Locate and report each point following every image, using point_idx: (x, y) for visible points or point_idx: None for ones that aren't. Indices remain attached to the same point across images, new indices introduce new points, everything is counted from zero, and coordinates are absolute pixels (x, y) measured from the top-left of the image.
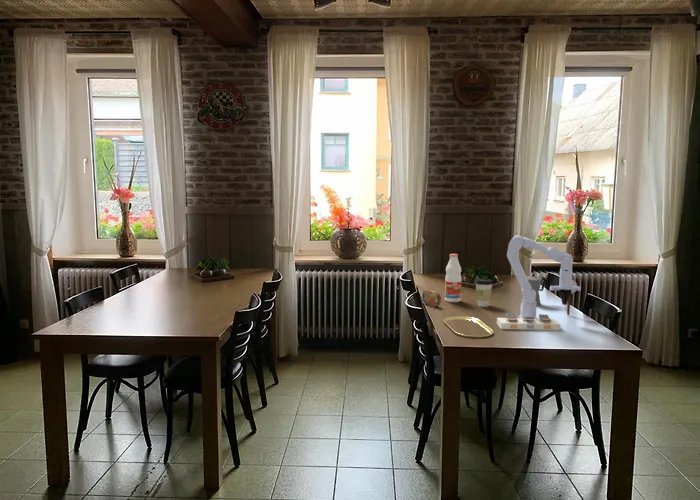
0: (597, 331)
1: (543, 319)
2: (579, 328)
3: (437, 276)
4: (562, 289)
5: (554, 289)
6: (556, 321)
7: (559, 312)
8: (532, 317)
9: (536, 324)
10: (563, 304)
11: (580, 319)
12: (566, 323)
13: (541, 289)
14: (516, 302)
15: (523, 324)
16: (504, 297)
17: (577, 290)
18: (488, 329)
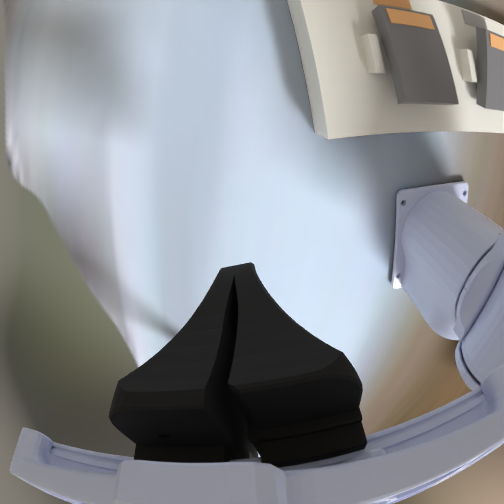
0: (49, 64)
1: (427, 15)
2: (140, 81)
3: None
4: (310, 466)
5: (461, 411)
6: (319, 51)
7: None
8: (490, 31)
9: (444, 4)
10: (253, 265)
11: (137, 302)
12: (218, 188)
13: None
14: (366, 424)
15: (493, 22)
16: None
17: (56, 444)
18: None
